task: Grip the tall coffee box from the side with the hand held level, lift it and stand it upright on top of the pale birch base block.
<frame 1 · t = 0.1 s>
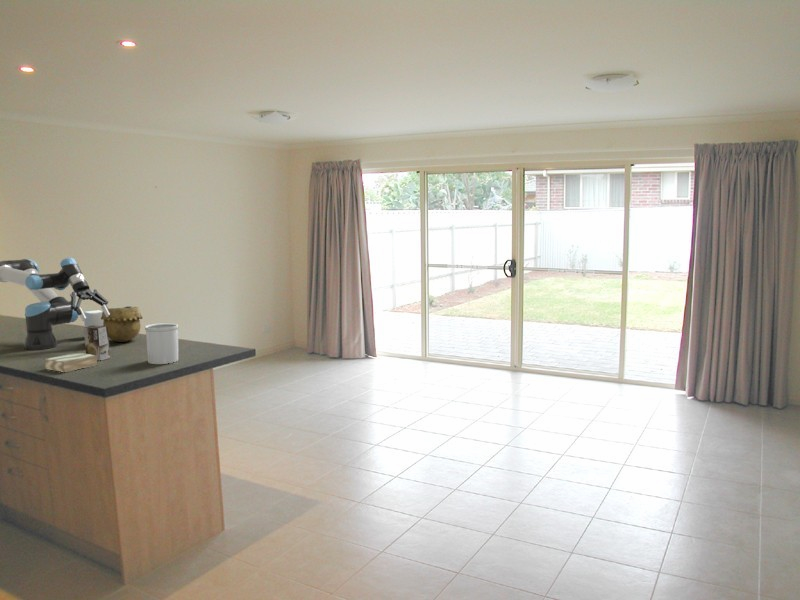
hand: (96, 317, 319), 16 cm above the countertop, tool tilted 35°, fingers open, 13 cm apart
supplement box: (96, 337, 350), on the countertop
coffee box: (98, 359, 298), on the countertop
clay pot: (123, 341, 338), on the countertop, touching gripper
base block: (71, 367, 281), on the countertop
utensil holder: (163, 361, 294), on the countertop
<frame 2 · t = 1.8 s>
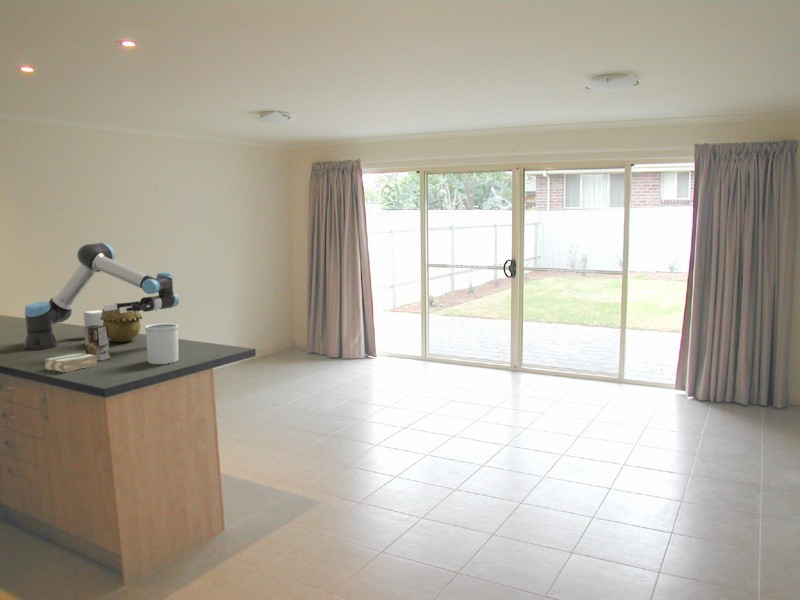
hand: (112, 309, 303), 23 cm above the countertop, tool horizontal, fingers open, 13 cm apart
clay pot: (123, 341, 338), on the countertop
everything else where it was.
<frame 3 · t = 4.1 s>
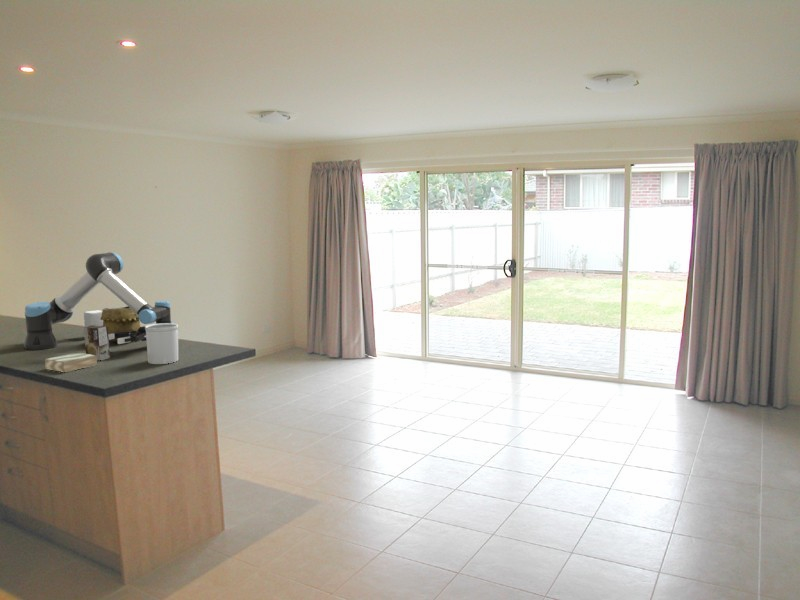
hand: (109, 339, 302), 8 cm above the countertop, tool horizontal, fingers open, 13 cm apart
nothing on the countertop moved.
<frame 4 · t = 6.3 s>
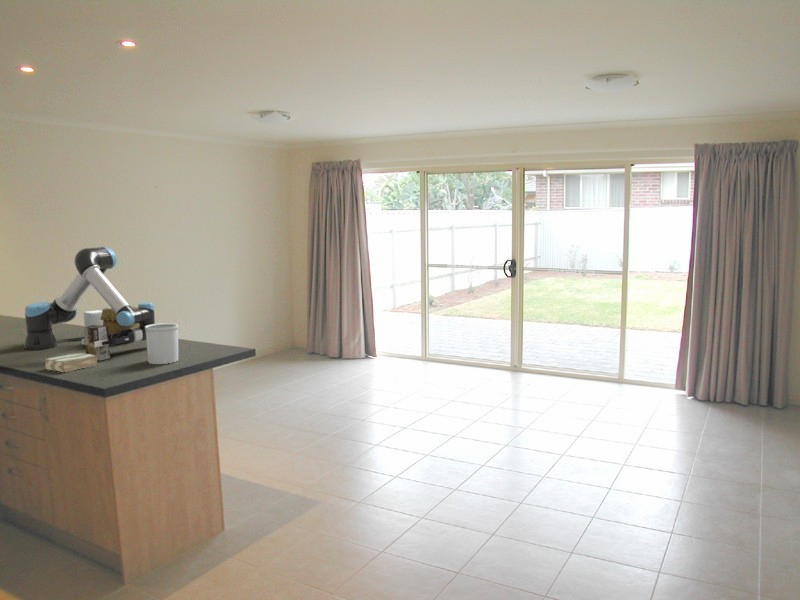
hand: (88, 343, 294), 9 cm above the countertop, tool horizontal, fingers closed on coffee box, 10 cm apart
coffee box: (98, 359, 298), on the countertop, touching gripper
everything else where it was.
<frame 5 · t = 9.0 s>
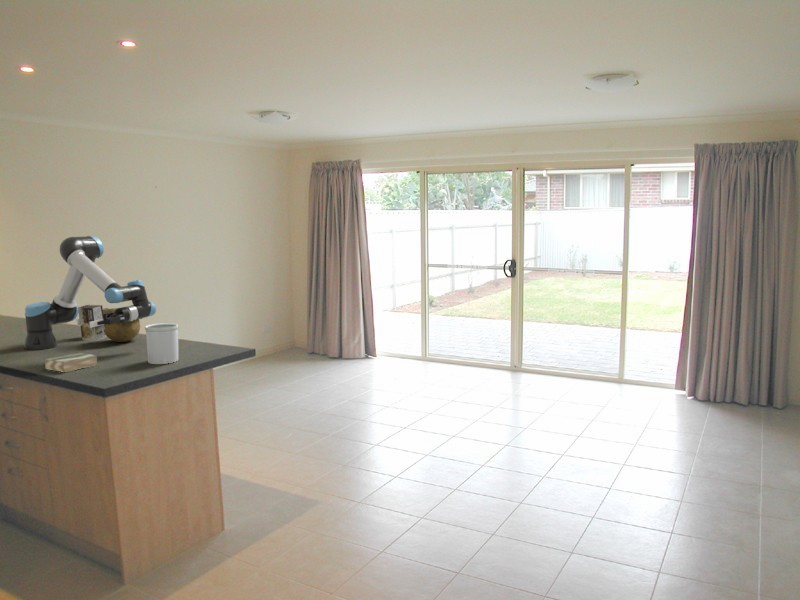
hand: (83, 323, 287), 19 cm above the countertop, tool horizontal, fingers closed on coffee box, 10 cm apart
coffee box: (94, 339, 292), point 11 cm above the countertop, touching gripper
everything else where it was.
when the fingers open (15 cm above the countertop, at t = 12.1 s): coffee box drops 1 cm, resting on base block.
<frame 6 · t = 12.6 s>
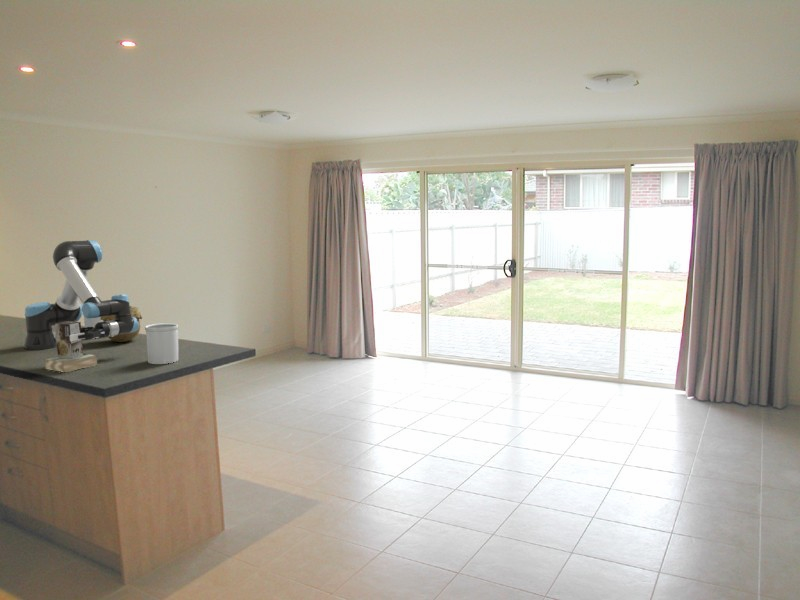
hand: (61, 336, 276), 15 cm above the countertop, tool horizontal, fingers open, 13 cm apart
coffee box: (70, 357, 281), point 5 cm above the countertop, touching base block
everything else where it was.
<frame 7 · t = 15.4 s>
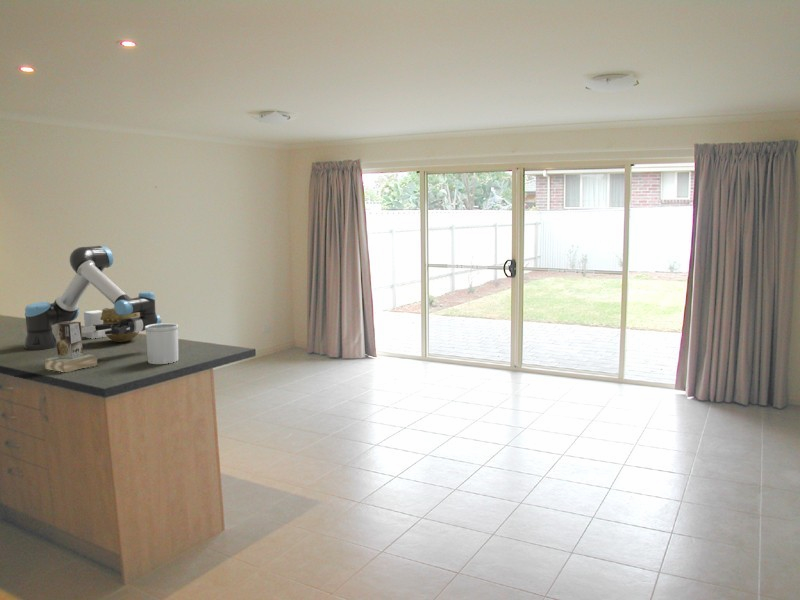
hand: (89, 332, 287), 15 cm above the countertop, tool horizontal, fingers open, 13 cm apart
nothing on the countertop moved.
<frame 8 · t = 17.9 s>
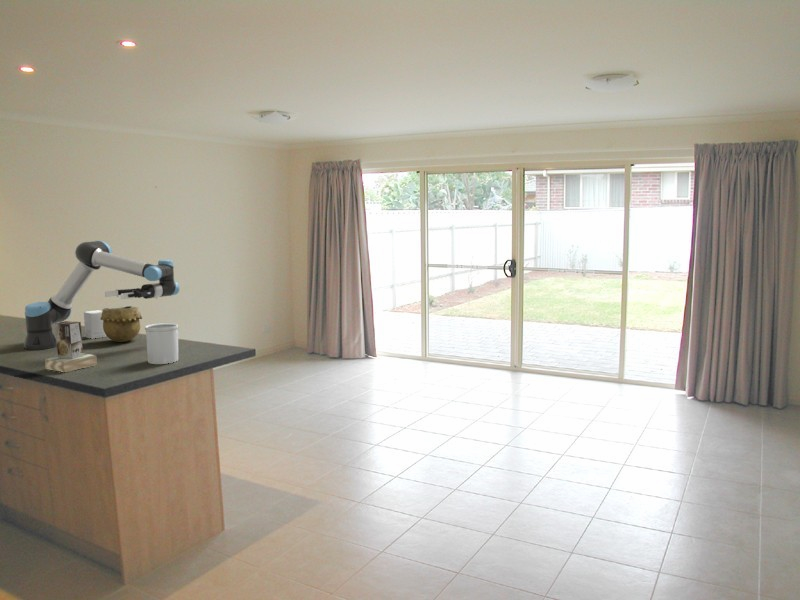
hand: (113, 295, 304), 30 cm above the countertop, tool horizontal, fingers open, 13 cm apart
nothing on the countertop moved.
at the end: coffee box inside the target area on the base block (0.4 cm from its centre), point 4.8 cm above the base block's base; coffee box tilted 0°; the gripper is holding nothing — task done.
